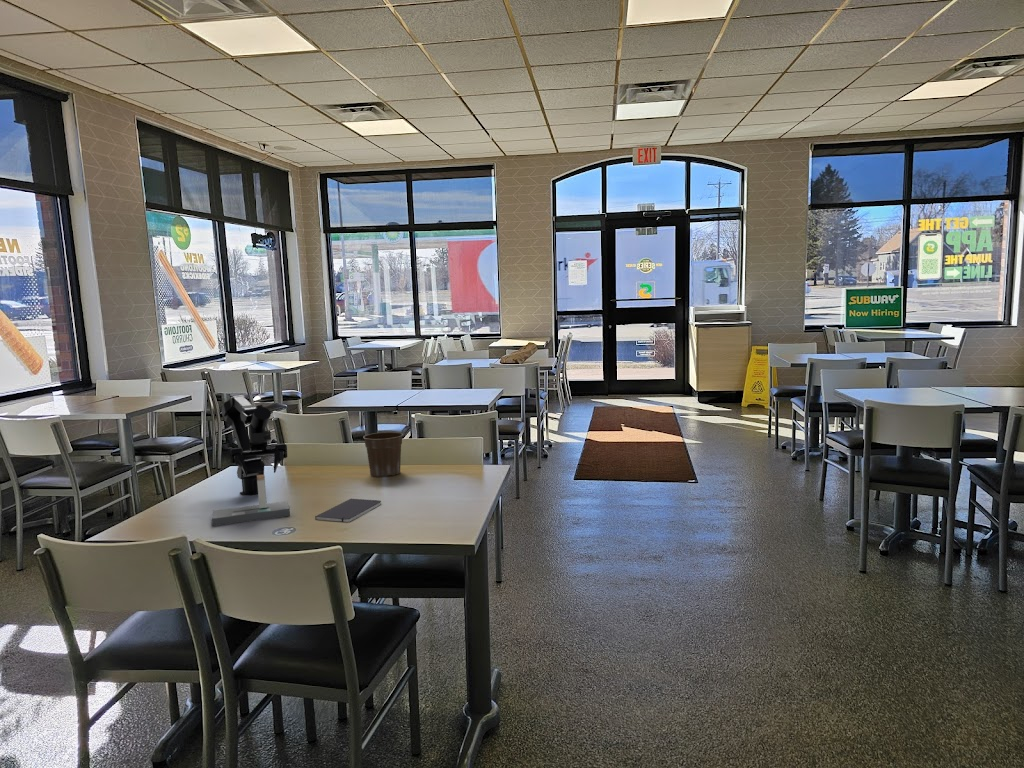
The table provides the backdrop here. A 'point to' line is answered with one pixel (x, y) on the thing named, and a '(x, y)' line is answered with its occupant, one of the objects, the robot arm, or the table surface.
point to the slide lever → (261, 491)
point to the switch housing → (250, 513)
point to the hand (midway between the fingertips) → (260, 473)
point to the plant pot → (384, 453)
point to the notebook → (348, 510)
